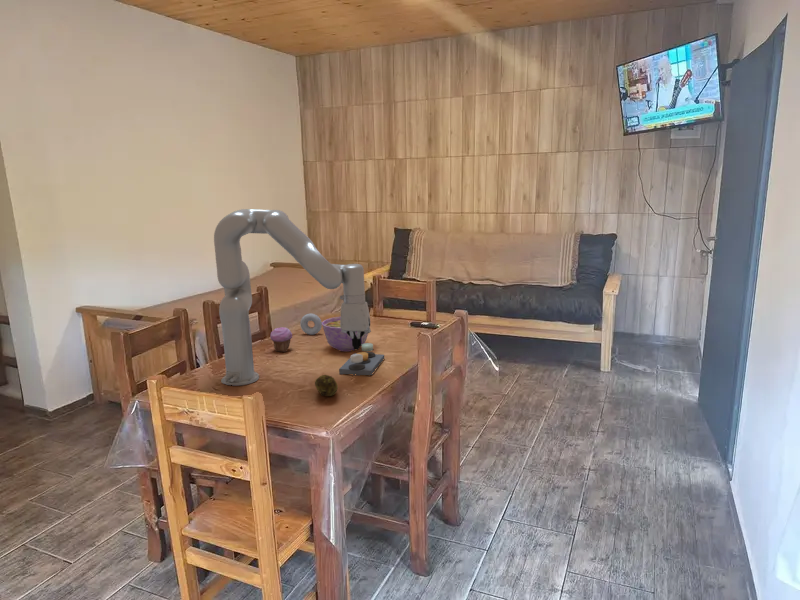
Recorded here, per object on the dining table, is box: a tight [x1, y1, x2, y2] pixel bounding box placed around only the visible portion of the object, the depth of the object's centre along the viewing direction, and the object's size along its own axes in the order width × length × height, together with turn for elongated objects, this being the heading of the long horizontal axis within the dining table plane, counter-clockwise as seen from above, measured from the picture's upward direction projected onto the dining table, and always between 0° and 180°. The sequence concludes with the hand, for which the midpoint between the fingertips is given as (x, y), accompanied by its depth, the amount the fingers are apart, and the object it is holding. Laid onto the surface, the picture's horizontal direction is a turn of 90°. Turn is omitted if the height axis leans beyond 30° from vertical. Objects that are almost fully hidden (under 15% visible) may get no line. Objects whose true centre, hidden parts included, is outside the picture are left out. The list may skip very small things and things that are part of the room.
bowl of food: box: [321, 316, 369, 352], centre depth 233 cm, size 20×20×12 cm
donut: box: [299, 312, 323, 336], centre depth 256 cm, size 10×4×10 cm, turn 85°
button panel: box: [338, 351, 385, 376], centre depth 212 cm, size 20×12×3 cm, turn 167°
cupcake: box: [269, 326, 293, 353], centre depth 233 cm, size 9×9×10 cm
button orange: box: [357, 351, 368, 361], centre depth 211 cm, size 4×4×2 cm
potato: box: [314, 374, 338, 397], centre depth 183 cm, size 8×13×8 cm, turn 172°
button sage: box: [361, 342, 374, 352], centre depth 217 cm, size 4×4×2 cm
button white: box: [350, 353, 363, 363], centre depth 204 cm, size 4×4×2 cm
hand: (357, 348), depth 203 cm, fingers closed
